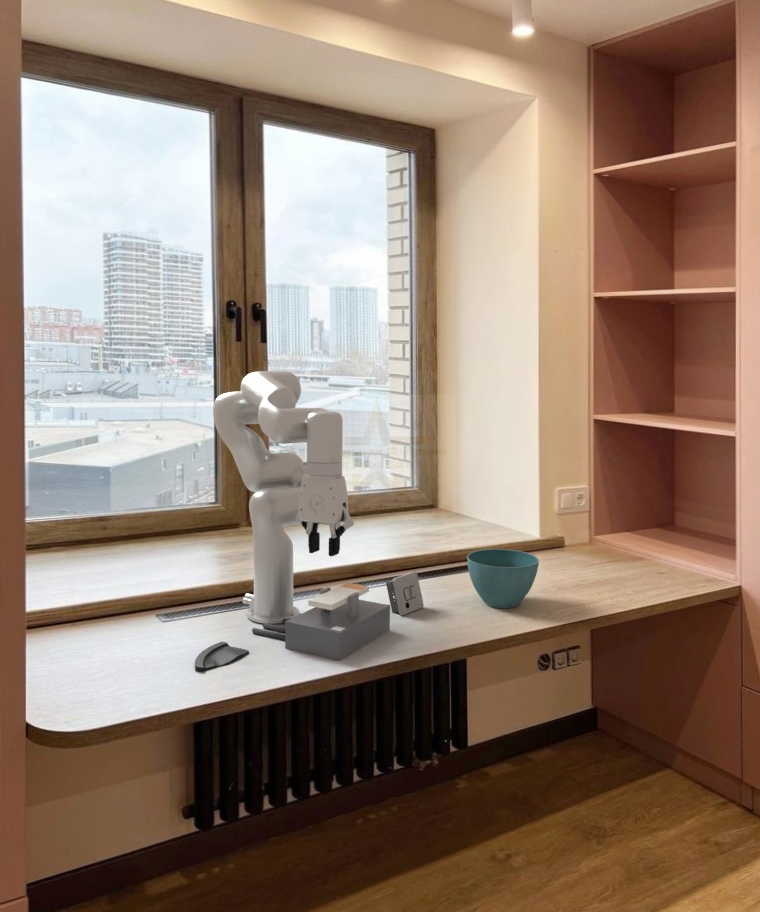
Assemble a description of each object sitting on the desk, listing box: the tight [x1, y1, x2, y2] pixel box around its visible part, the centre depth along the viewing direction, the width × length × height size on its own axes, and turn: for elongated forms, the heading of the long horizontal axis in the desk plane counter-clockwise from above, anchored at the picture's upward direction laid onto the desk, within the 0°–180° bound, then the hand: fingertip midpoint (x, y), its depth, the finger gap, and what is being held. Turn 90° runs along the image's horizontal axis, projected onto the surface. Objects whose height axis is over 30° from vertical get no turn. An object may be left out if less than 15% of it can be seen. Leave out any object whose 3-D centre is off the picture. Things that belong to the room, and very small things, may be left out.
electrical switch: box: [385, 571, 424, 616], centre depth 205 cm, size 9×5×9 cm, turn 141°
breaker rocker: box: [307, 582, 370, 610], centre depth 183 cm, size 6×16×1 cm, turn 151°
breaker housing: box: [284, 586, 391, 661], centre depth 183 cm, size 14×22×11 cm, turn 151°
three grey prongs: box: [251, 619, 289, 641], centre depth 188 cm, size 12×10×1 cm
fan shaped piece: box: [194, 641, 250, 673], centre depth 171 cm, size 8×14×2 cm, turn 151°
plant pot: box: [466, 548, 540, 609], centre depth 211 cm, size 18×18×12 cm
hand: (324, 552), depth 176 cm, fingers open, 4 cm apart
